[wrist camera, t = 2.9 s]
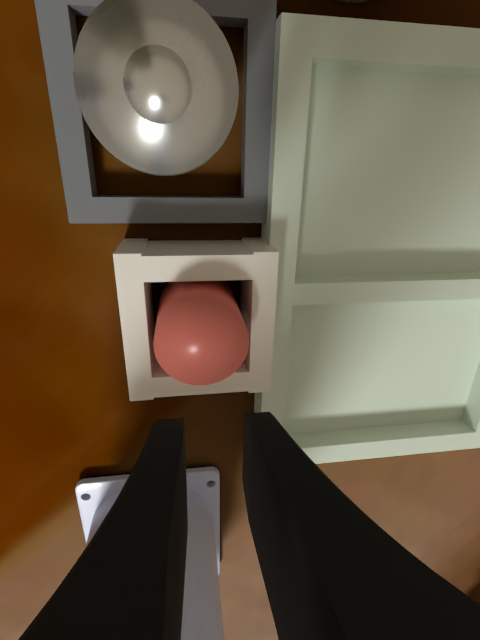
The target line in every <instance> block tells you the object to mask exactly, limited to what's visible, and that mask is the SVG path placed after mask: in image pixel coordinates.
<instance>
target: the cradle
mask: <svg viewBox="0 0 480 640" xmlns="http://www.w3.org/2000/svg"><path fill="white" fill-rule="evenodd" d="M34 1H35V7H36V14H37V20H38V27H39V33H40V39H41V46H42V52H43V59H44V65H45V71H46V78H47V84H48V91H49V97H50V103H51V110H52V116H53V123H54V129H55V135H56V142H57V148H58V155H59V161H60V167H61V174H62V180H63V187H64V193H65V199H66V206H67V212H68V219H69V223H267V204H268V182H269V161H270V139H271V118H272V96H273V75H274V53H275V32H276V10H277V0H193V1H194V2H196V3H197V4H198V5H199V6H200V7H202V8H203V9H204V10H205V11H206V12H207V13H208V14H209V15H210V16H211V18H212V19H213V20H214V21H215V22H216V24H217V25H218V26H225V27H238V28H244V40H243V92H242V144H241V196H158V195H97V188H96V180H95V171H94V163H93V155H92V147H91V139H90V131H89V126H88V124H87V122H86V121H85V119H84V116H83V114H82V112H81V109H80V106H79V103H78V100H77V97H76V92H75V86H74V77H73V62H74V54H75V48H76V44H77V41H78V34H77V26H76V18H75V15H76V16H90V14H91V13H92V12H93V11H94V9H95V8H96V7H97V6H98V5H99V4H100V3H101V2H103V1H104V0H34Z"/></svg>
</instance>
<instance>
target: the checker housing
mask: <svg viewBox="0 0 480 640" xmlns="http://www.w3.org/2000/svg"><path fill="white" fill-rule="evenodd" d="M113 259H114V268H115V277H116V286H117V294H118V303H119V312H120V320H121V329H122V338H123V346H124V355H125V364H126V372H127V381H128V390H129V399H130V401H140V400H154V398H156V397H170V396H185V395H200V394H215V393H230V392H245V391H248V392H249V393H258V392H271V376H272V360H273V343H274V327H275V310H276V294H277V278H278V261H279V251H278V250H277V249H275V248H274V247H273V246H272V245H269V244H268V243H267V242H265V241H264V240H263V239H262V238H261V237H259V238H242V240H161V241H148V238H125V239H124V240H123V241H122V242H121V244H120V245H119V246H118V248H117V249H116V250H115V252H114V253H113ZM223 280H241V302H240V312H241V314H242V317H243V319H244V322H245V324H246V327H247V330H248V334H249V348H248V352H247V355H246V358H245V360H244V361H243V363H242V364H241V366H240V367H239V368H238V369H237V370H236V371H235V372H234V373H233V374H232V375H231V376H229V377H227V378H226V379H224V380H222V381H220V382H217V383H213V384H209V385H190V384H186V383H183V382H180V381H178V380H176V379H174V378H172V377H171V376H169V375H168V374H167V373H166V372H165V371H164V370H163V369H162V368H161V366H160V365H159V363H158V361H157V359H156V357H155V353H154V348H153V340H154V333H155V327H154V314H153V301H152V288H151V282H181V281H223Z"/></svg>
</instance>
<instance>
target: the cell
mask: <svg viewBox="0 0 480 640" xmlns="http://www.w3.org/2000/svg"><path fill="white" fill-rule="evenodd" d="M73 77H74V86H75V92H76V97H77V100H78V103H79V106H80V109H81V112H82V114H83V116H84V119H85V121H86V122H87V124H88V126H89V128H90V129H91V131H92V132H93V134H94V135H95V137H96V138H97V139H98V141H99V142H100V143H101V144H102V145H103V146H104V147H105V148H106V149H107V150H108V151H109V152H110V153H111V154H112V155H113V156H115V157H116V158H117V159H118V160H120V161H121V162H123V163H124V164H126V165H128V166H130V167H132V168H133V169H135V170H138V171H141V172H144V173H147V174H152V175H158V176H174V175H179V174H184V173H187V172H190V171H193V170H195V169H196V168H198V167H200V166H202V165H203V164H205V163H206V162H208V161H209V160H210V159H211V158H212V157H213V156H214V155H215V154H216V153H217V152H218V151H219V149H220V148H221V147H222V146H223V144H224V142H225V141H226V139H227V137H228V135H229V133H230V131H231V129H232V126H233V122H234V119H235V116H236V111H237V105H238V94H239V88H238V76H237V69H236V65H235V61H234V57H233V54H232V52H231V49H230V46H229V44H228V42H227V40H226V38H225V36H224V34H223V32H222V31H221V30H220V28H219V27H218V25H217V24H216V22H215V21H214V20H213V19H212V18H211V16H210V15H209V14H208V13H207V12H206V11H205V10H204V9H203V8H202V7H200V6H199V5H198V4H197V3H196V2H194V1H193V0H104V1H103V2H101V3H100V4H99V5H98V6H97V7H96V8H95V9H94V11H93V12H92V13H91V14H90V16H89V17H88V19H87V20H86V22H85V23H84V26H83V28H82V30H81V32H80V34H79V37H78V41H77V44H76V48H75V54H74V62H73Z"/></svg>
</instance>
